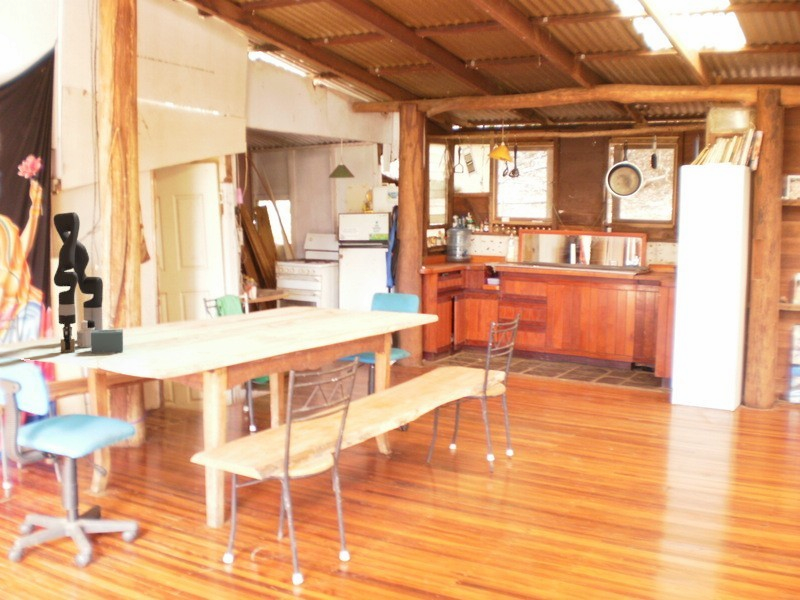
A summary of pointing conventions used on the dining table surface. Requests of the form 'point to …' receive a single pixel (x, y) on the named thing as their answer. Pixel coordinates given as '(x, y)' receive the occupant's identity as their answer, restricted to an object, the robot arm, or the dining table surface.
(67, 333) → the robot arm
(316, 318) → the dining table surface
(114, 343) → the coin box
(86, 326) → the container
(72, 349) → the block
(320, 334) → the dining table surface
